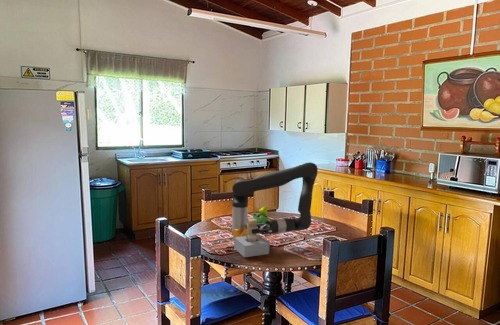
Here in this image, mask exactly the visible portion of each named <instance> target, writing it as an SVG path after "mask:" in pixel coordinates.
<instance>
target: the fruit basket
mask: <svg viewBox="0 0 500 325" xmlns="http://www.w3.org/2000/svg"><path fill="white" fill-rule="evenodd" d="M267 214H268V207H267V206H266V205H264V206H262V207H261V208H260V209H259V210H258V212H257V213H252V219H256V220H257V222H262V223H264V224H265V223H266V221H267V220H269V216H268V215H267Z"/></svg>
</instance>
